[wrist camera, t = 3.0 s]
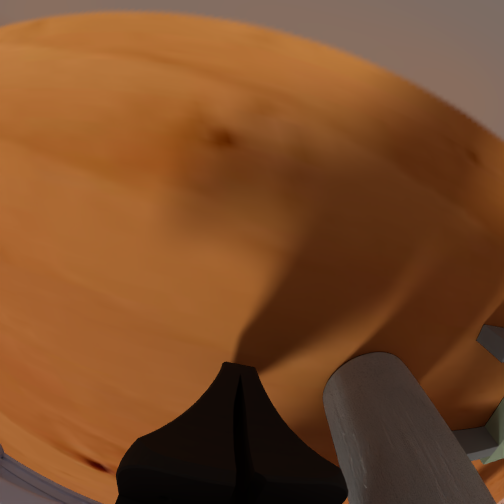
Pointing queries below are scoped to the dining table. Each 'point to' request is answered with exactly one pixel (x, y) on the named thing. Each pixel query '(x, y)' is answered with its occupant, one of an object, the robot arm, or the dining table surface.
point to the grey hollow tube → (395, 438)
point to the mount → (500, 424)
